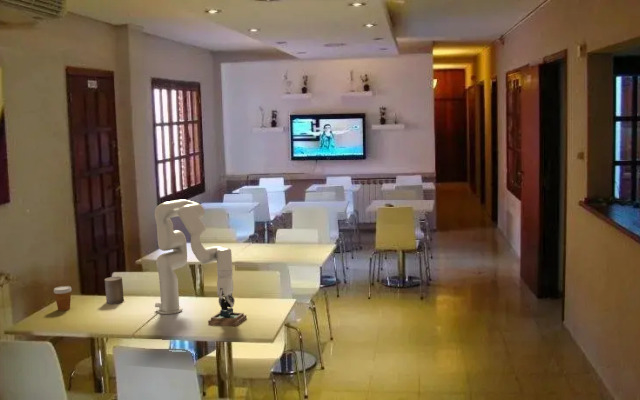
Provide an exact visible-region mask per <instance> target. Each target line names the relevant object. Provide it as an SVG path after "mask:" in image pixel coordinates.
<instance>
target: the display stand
mask: <svg viewBox="0 0 640 400" xmlns="http://www.w3.org/2000/svg"><path fill="white" fill-rule="evenodd" d="M245 320H247V314H244V312H233V315H231V316H230V317H221V316H220V311H219V312H218V313H216V314H215V315H213V316H211V317H210V319H209V320H207V323H208V326H210V325H211V326H212V325H213V326H226V327H227V326H228V327H230V326H231V327H237V326H238V325H240V324H241V323H243V322H244V321H245Z"/></svg>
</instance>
